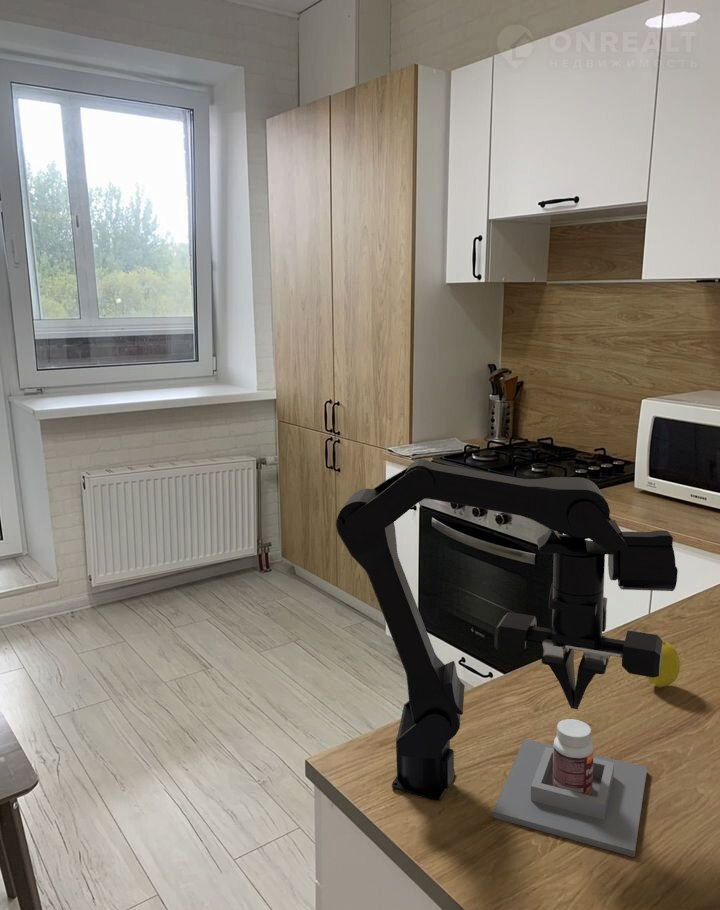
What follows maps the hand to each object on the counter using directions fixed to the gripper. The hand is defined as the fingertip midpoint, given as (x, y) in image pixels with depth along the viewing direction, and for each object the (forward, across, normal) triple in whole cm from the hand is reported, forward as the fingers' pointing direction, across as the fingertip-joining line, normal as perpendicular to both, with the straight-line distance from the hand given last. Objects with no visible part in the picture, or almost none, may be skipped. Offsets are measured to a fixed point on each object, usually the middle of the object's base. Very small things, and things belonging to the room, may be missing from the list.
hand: (574, 707), depth 88 cm
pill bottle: (+11, 0, 0) cm, 11 cm away
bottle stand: (+12, 0, 0) cm, 12 cm away
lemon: (+12, -8, -31) cm, 34 cm away
